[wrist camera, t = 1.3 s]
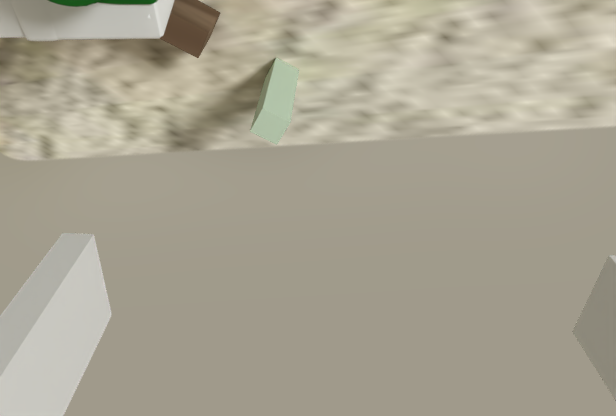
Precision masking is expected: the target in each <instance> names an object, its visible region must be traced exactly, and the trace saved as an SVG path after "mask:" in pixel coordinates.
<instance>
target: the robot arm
mask: <svg viewBox="0 0 616 416" xmlns="http://www.w3.org/2000/svg"><path fill="white" fill-rule="evenodd" d="M111 315H112V314H111V309H110V305H109V300H108V296H107V291H106V287H105V283H104V278H103V274H102V269H101V265H100V260H99V256H98V251H97V247H96V242H95V238H94V235H93V234H74V233H62V235H61V236H60V237H59V239H58V240H57V241H56V243H55V244H54V245H53V247H52V248H51V249H50V251H49V252H48V253H47V255H46V256H45V257H44V259H43V260H42V261H41V263H40V264H39V265H38V267H37V268H36V269H35V270H34V272H33V273H32V275H31V276H30V277H29V278H28V280H27V281H26V282H25V284H24V285H23V286H22V288H21V289H20V290H19V292H18V293H17V294H16V296H15V297H14V298H13V300H12V301H11V302H10V304H9V305H8V306H7V308H6V309H5V310H4V312H3V313H2V314H1V316H0V416H63V415H64V413H65V411H66V409H67V407H68V405H69V403H70V400H71V398H72V396H73V394H74V392H75V390H76V388H77V386H78V384H79V382H80V380H81V378H82V375H83V374H84V371H85V369H86V367H87V365H88V363H89V361H90V359H91V357H92V355H93V353H94V351H95V349H96V346H97V344H98V342H99V340H100V338H101V336H102V334H103V332H104V330H105V328H106V325H107V324H108V321H109V319H110V317H111ZM573 333H574V335H575V337H576V338H577V340H578V341H579V343H580V345H581V346H582V348H583V349H584V351H585V353H586V354H587V356H588V357H589V359H590V361H591V362H592V364H593V365H594V367H595V368H596V370H597V372H598V373H599V375H600V377H601V378H602V380H603V381H604V383H605V385H606V386H607V388H608V389H609V391H610V392H611V394H612V396H613V397H614V399H615V401H616V256H612V255H609V256H608V259H607V260H606V262H605V264H604V267H603V269H602V271H601V273H600V275H599V277H598V279H597V281H596V283H595V285H594V288H593V290H592V292H591V294H590V296H589V298H588V300H587V302H586V304H585V306H584V308H583V311H582V313H581V315H580V317H579V319H578V321H577V323H576V325H575V327H574V330H573Z"/></svg>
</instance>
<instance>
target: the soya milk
mask: <svg viewBox="0 0 616 416" xmlns="http://www.w3.org/2000/svg"><path fill="white" fill-rule="evenodd" d="M174 1H175V0H0V38H27V40H28V41H57V40H94V39H159V38H160V37H161V36H163V35H164V32H165V29H166V26H167V23H168V19H169V16H170V13H171V10H172V7H173V4H174Z"/></svg>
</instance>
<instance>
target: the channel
mask: <svg viewBox="0 0 616 416" xmlns="http://www.w3.org/2000/svg"><path fill="white" fill-rule="evenodd" d="M219 15H220V12H218V11H216V10H215V9H213V8H211V7H209V6H207V5H205V4H204V3H202V2H200V1H198V0H175V1H174V4H173V7H172V10H171V13H170V16H169V19H168V23H167V26H166V29H165V32H164V35H163V36H161V37H160V39H162V40H164V41H166V42H168V43H170V44H172V45H174V46H175V47H177V48H179V49H181V50H183V51H185V52H187V53H189V54H191V55H193V56H195V57H197V58H199V56H200V54H201V52H202V51H203V49H204V47H205V45H206V44H207V42H208V40H209V38H210V36H211V34H212V32H213V29H214V27H215V24H216V22H217V20H218V17H219Z"/></svg>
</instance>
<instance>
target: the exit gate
mask: <svg viewBox="0 0 616 416" xmlns="http://www.w3.org/2000/svg"><path fill="white" fill-rule="evenodd" d="M298 74H299V70H298V69H296V68H295V67H293V66H291V65H289V64H287V63H285V62H283V61H282V60H280V59H278V58H276V59H275V61H274V62H273V64H272V66H271V68H270V70H269V72H268V74H267V76H266V78H265V80H264V84H263V87H262V91H261V94H260V98H259V101H258V105H257V109H256V112H255V116H254V119H253V123H252V126H251V130H250V132H252V133H254V134H256V135H258V136H260V137H262V138H264V139H266V140H268V141H270V142H272V143H274V144H276V145H277V144H278V142H279V140H280V139H281V137H282V135H283V134H284V132H285V131H286V129H287V127H288V126H289V124H290V122H291V116H292V110H293V104H294V98H295V92H296V86H297V80H298Z"/></svg>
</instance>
